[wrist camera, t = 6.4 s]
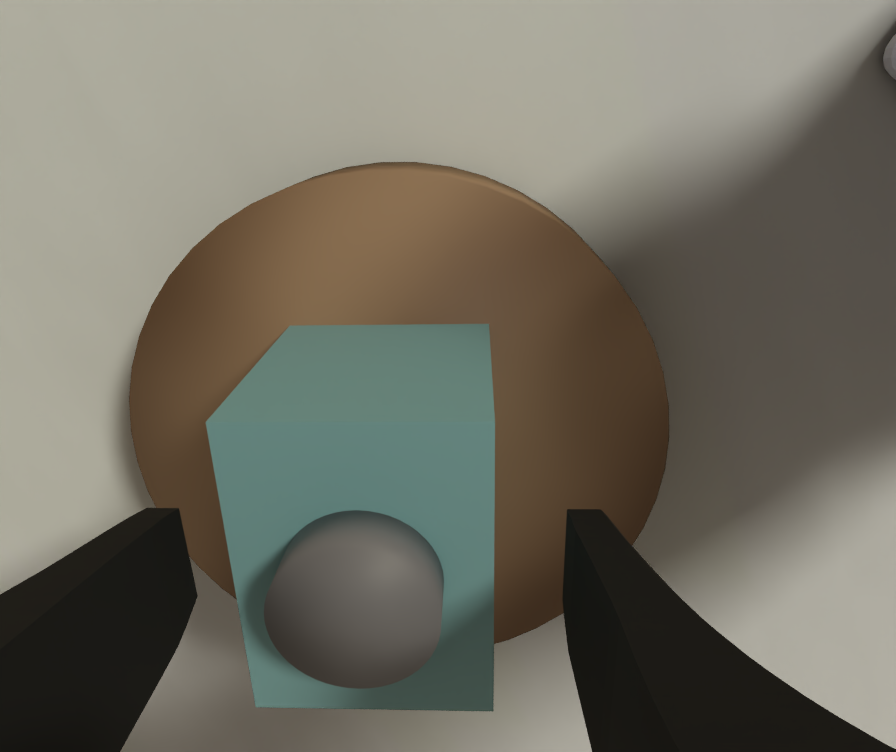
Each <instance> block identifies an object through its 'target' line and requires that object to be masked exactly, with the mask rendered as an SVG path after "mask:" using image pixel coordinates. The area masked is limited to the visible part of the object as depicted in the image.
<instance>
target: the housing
mask: <svg viewBox="0 0 896 752" xmlns="http://www.w3.org/2000/svg"><path fill="white" fill-rule="evenodd" d="M206 427H207V433H208V439H209V444H210V450H211V456H212V461H213V467H214V473H215V479H216V484H217V490H218V496H219V501H220V507H221V513H222V518H223V524H224V530H225V535H226V541H227V547H228V552H229V558H230V564H231V569H232V575H233V581H234V586H235V592H236V598H237V603H238V609H239V615H240V620H241V626H242V632H243V637H244V643H245V649H246V654H247V660H248V666H249V671H250V677H251V683H252V688H253V694H254V700H255V706H256V707H272V708H330V709H388V710H446V711H493V687H494V514H495V413H494V397H493V381H492V365H491V349H490V333H489V324H412V325H297V326H289V327H288V328H287V329H286V330H285V331H284V333H283V334H282V335H281V336H280V337H279V338H278V340H277V341H276V342H275V343H274V344H273V345H272V346H271V348H270V349H269V350H268V351H267V352H266V353H265V354H264V356H263V357H262V358H261V359H260V360H259V361H258V363H257V364H256V365H255V366H254V367H253V368H252V369H251V371H250V372H249V373H248V374H247V375H246V376H245V377H244V379H243V380H242V381H241V382H240V383H239V384H238V386H237V387H236V388H235V389H234V390H233V391H232V392H231V394H230V395H229V396H228V397H227V398H226V399H225V400H224V402H223V403H222V404H221V405H220V406H219V407H218V409H217V410H216V411H215V412H214V413H213V414H212V415H211V417H210V418H209V419H208V420H207V421H206Z"/></svg>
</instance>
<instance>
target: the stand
mask: <svg viewBox="0 0 896 752" xmlns="http://www.w3.org/2000/svg"><path fill="white" fill-rule="evenodd" d="M412 324H489V333H490V349H491V365H492V381H493V397H494V413H495V514H494V644H495V643H499V642H502V641H506V640H509V639H511V638H514V637H516V636H519V635H521V634H523V633H526V632H528V631H531V630H533V629H535V628H537V627H539V626H541V625H543V624H545V623H546V622H548V621H550V620H552V619H554V618H555V617H557V616H559V615H561V614H562V613H564V610H563V601H562V597H563V577H564V557H565V538H566V518H567V509H601V510H602V511H603V512H604V513H605V514H606V515H607V516H608V517H609V519H610V520H611V521H612V522H613V524H614V525H615V526H616V527H617V528H618V530H619V531H620V532H621V533H622V535H623V536H624V537H625V538H626V539H627V541H628V542H629V543H630V544H631V545H633V543H634V542H635V540H636V539H637V537H638V535H639V534H640V532H641V531H642V529H643V527H644V525H645V523H646V521H647V519H648V516H649V514H650V512H651V510H652V508H653V505H654V503H655V501H656V498H657V495H658V491H659V488H660V484H661V481H662V478H663V474H664V471H665V465H666V457H667V450H668V442H669V405H668V399H667V393H666V387H665V381H664V375H663V370H662V367H661V364H660V361H659V358H658V355H657V352H656V349H655V346H654V343H653V340H652V338H651V336H650V334H649V332H648V329H647V327H646V325H645V323H644V321H643V319H642V317H641V315H640V313H639V311H638V309H637V307H636V306H635V304H634V303H633V302H632V300H631V299H630V297H629V296H628V294H627V293H626V292H625V290H624V289H623V287H622V286H621V284H620V283H619V281H618V280H617V279H616V277H615V276H614V275H613V274H612V272H611V271H610V270H609V269H608V268H607V266H606V265H605V264H604V263H603V262H602V260H601V259H600V258H599V257H598V256H597V255H596V253H595V252H594V251H593V250H592V249H591V248H590V247H589V246H588V245H587V244H586V243H585V242H584V240H583V239H582V238H581V237H580V236H579V235H578V234H577V233H576V232H575V231H574V230H573V229H572V228H571V227H570V226H568V225H567V224H566V223H565V222H563V221H562V220H561V219H560V218H559V217H557V216H556V215H555V214H554V213H552V212H551V211H550V210H549V209H547V208H546V207H544V206H543V205H541V204H539V203H538V202H536V201H534V200H533V199H531V198H529V197H528V196H526V195H524V194H523V193H521V192H519V191H518V190H516V189H513V188H511V187H509V186H506V185H504V184H502V183H499V182H497V181H495V180H493V179H490V178H488V177H486V176H482V175H479V174H475V173H471V172H468V171H464V170H460V169H457V168H453V167H448V166H441V165H433V164H426V163H418V162H380V163H373V164H366V165H359V166H352V167H346V168H342V169H339V170H336V171H332V172H329V173H325V174H322V175H318V176H315V177H312V178H310V179H307V180H305V181H302V182H300V183H297V184H295V185H292V186H290V187H287V188H285V189H283V190H281V191H279V192H276V193H274V194H272V195H270V196H268V197H265V198H263V199H261V200H259V201H257V202H254V203H252V204H250V205H249V206H247V207H246V208H244V209H243V210H241V211H239V212H238V213H236V214H235V215H233V216H232V217H230V218H229V219H227V220H225V221H224V222H222V223H221V224H219V225H218V226H217V227H216V228H215V229H214V230H213V231H211V232H210V233H209V234H208V235H207V236H206V237H205V238H203V239H202V240H201V241H200V242H199V243H198V244H197V245H196V246H194V247H193V248H192V249H191V250H190V252H189V253H188V254H187V255H186V256H185V258H184V259H183V260H182V261H181V262H180V264H179V265H178V266H177V267H176V268H175V270H174V271H173V272H172V273H171V274H170V276H169V277H168V279H167V281H166V282H165V284H164V286H163V287H162V289H161V291H160V292H159V294H158V296H157V297H156V299H155V301H154V302H153V304H152V306H151V309H150V311H149V313H148V316H147V318H146V321H145V323H144V326H143V328H142V331H141V333H140V336H139V340H138V344H137V348H136V352H135V356H134V361H133V365H132V372H131V384H130V396H129V404H130V420H131V432H132V437H133V442H134V447H135V452H136V456H137V461H138V464H139V467H140V470H141V473H142V476H143V478H144V481H145V484H146V487H147V490H148V492H149V494H150V496H151V498H152V500H153V502H154V504H155V506H156V508H179V511H180V515H181V520H182V525H183V530H184V534H185V539H186V544H187V549H188V554H189V556H190V557H191V558H192V559H193V561H194V562H195V563H196V564H197V565H198V566H199V568H201V569H202V570H203V571H204V572H205V573H206V574H207V575H208V576H209V577H210V578H211V579H212V580H214V581H215V582H216V583H217V584H218V585H219V586H220V587H221V588H222V589H224V590H225V591H226V592H228V593H229V594H230V595H232V596H233V597H234V598H236V592H235V586H234V581H233V575H232V569H231V564H230V558H229V552H228V547H227V541H226V535H225V530H224V524H223V518H222V513H221V507H220V501H219V496H218V490H217V484H216V479H215V473H214V467H213V461H212V456H211V450H210V444H209V439H208V433H207V427H206V421H207V420H208V419H209V418H210V417H211V415H212V414H213V413H214V412H215V411H216V410H217V409H218V407H219V406H220V405H221V404H222V403H223V402H224V400H225V399H226V398H227V397H228V396H229V395H230V394H231V392H232V391H233V390H234V389H235V388H236V387H237V386H238V384H239V383H240V382H241V381H242V380H243V379H244V377H245V376H246V375H247V374H248V373H249V372H250V371H251V369H252V368H253V367H254V366H255V365H256V364H257V363H258V361H259V360H260V359H261V358H262V357H263V356H264V354H265V353H266V352H267V351H268V350H269V349H270V348H271V346H272V345H273V344H274V343H275V342H276V341H277V340H278V338H279V337H280V336H281V335H282V334H283V333H284V331H285V330H286V329H287V328H288V327H289V326H297V325H412ZM236 599H237V598H236Z"/></svg>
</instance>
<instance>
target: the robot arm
mask: <svg viewBox="0 0 896 752" xmlns="http://www.w3.org/2000/svg"><path fill="white" fill-rule="evenodd" d="M883 62H884V68H885V69H886V71H887V72H888V73H889V75H890V76H892V77H893V78H894V79H895V80H896V34H895V35H894V36H893V37H892V39H891V40H890V42H889V43H888V45H887V47H886V48H885V52H884V57H883ZM196 599H197V592H196V587H195V582H194V577H193V573H192V568H191V563H190V558H189V554H188V549H187V544H186V539H185V534H184V530H183V525H182V520H181V515H180V511H179V508H146V509H144V510H142V511H140V512H138V513H136V514H135V515H133V516H131V517H129V518H128V519H126V520H124V521H122V522H121V523H119V524H117V525H116V526H114V527H112V528H111V529H109V530H107V531H106V532H104V533H103V534H101V535H99V536H98V537H96V538H94V539H93V540H91V541H90V542H88V543H86V544H85V545H83V546H81V547H80V548H78V549H77V550H75V551H73V552H72V553H70V554H68V555H67V556H65V557H64V558H62V559H60V560H59V561H57V562H55V563H54V564H52V565H51V566H49V567H47V568H46V569H44V570H42V571H41V572H39V573H37V574H35V575H34V576H32V577H30V578H28V579H27V580H25V581H23V582H21V583H20V584H18V585H16V586H14V587H13V588H11V589H9V590H7V591H6V592H4V593H2V594H0V752H120V751H121V749H122V747H123V745H124V743H125V742H126V740H127V738H128V736H129V734H130V733H131V731H132V729H133V727H134V725H135V724H136V722H137V720H138V718H139V716H140V715H141V713H142V711H143V709H144V708H145V706H146V704H147V702H148V700H149V699H150V697H151V695H152V693H153V691H154V690H155V688H156V686H157V684H158V682H159V681H160V679H161V677H162V675H163V673H164V671H165V670H166V668H167V666H168V664H169V662H170V660H171V659H172V657H173V655H174V653H175V651H176V649H177V647H178V645H179V643H180V640H181V638H182V635H183V633H184V630H185V628H186V626H187V623H188V620H189V618H190V615H191V612H192V610H193V607H194V604H195V601H196ZM562 601H563V610H564V619H565V627H566V635H567V643H568V651H569V656H570V660H571V665H572V669H573V673H574V677H575V682H576V686H577V690H578V694H579V698H580V703H581V707H582V711H583V715H584V719H585V723H586V727H587V732H588V736H589V740H590V744H591V748H592V752H896V749H894V748H892V747H890V746H888V745H886V744H884V743H883V742H881V741H879V740H877V739H875V738H874V737H872V736H870V735H869V734H867V733H865V732H863V731H862V730H860V729H858V728H857V727H855V726H853V725H851V724H850V723H848V722H846V721H845V720H843V719H841V718H839V717H838V716H836V715H834V714H833V713H831V712H829V711H828V710H826V709H825V708H823V707H821V706H820V705H818V704H817V703H815V702H814V701H812V700H810V699H809V698H807V697H806V696H804V695H803V694H801V693H800V692H798V691H797V690H795V689H794V688H792V687H791V686H789V685H788V684H787V683H785V682H784V681H782V680H781V679H779V678H778V677H776V676H775V675H773V674H772V673H770V672H769V671H768V670H766V669H765V668H763V667H762V666H761V665H759V664H758V663H757V662H755V661H754V660H753V659H751V658H750V657H749V656H747V655H746V654H745V653H743V652H742V651H741V650H740V649H738V648H737V647H736V646H735V645H734V644H732V643H731V642H730V641H729V640H727V639H726V638H725V637H724V636H722V635H721V634H720V633H719V632H717V631H716V630H715V629H714V628H713V627H711V626H710V625H709V624H708V623H707V622H706V621H704V620H703V619H702V618H701V617H700V616H699V615H698V614H697V613H696V612H695V611H694V610H693V609H691V608H690V607H689V606H688V605H687V604H686V603H685V602H684V601H683V600H682V599H681V598H680V597H679V596H678V595H677V594H676V593H675V592H674V591H673V590H672V589H671V588H670V587H669V586H668V585H667V584H666V583H665V582H664V581H663V580H662V578H661V577H660V576H659V575H658V574H657V573H656V572H655V571H654V570H653V569H652V568H651V567H650V566H649V565H648V564H647V562H646V561H645V560H644V559H643V558H642V557H641V556H640V555H639V553H638V552H637V551H636V550H635V549H634V548H633V546H632V545H631V544H630V543H629V542H628V541H627V539H626V538H625V537H624V536H623V535H622V533H621V532H620V531H619V530H618V528H617V527H616V526H615V525H614V524H613V522H612V521H611V520H610V519H609V517H608V516H607V515H606V514H605V513H604V512H603V511H602V510H601V509H567V518H566V538H565V557H564V577H563V597H562Z"/></svg>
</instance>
